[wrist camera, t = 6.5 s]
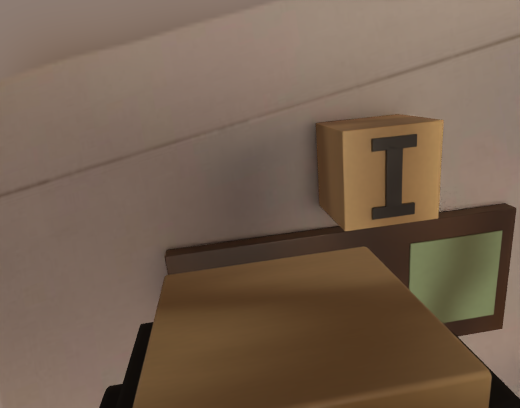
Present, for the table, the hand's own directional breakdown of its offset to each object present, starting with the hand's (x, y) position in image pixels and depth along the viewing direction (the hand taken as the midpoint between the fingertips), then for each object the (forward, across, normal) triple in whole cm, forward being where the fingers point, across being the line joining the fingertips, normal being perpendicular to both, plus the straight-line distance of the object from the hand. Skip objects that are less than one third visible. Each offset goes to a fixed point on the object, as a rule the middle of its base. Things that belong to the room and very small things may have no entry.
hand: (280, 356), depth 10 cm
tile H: (0, 0, 0) cm, 0 cm away
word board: (+14, -6, +7) cm, 17 cm away
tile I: (+14, -7, -2) cm, 16 cm away
